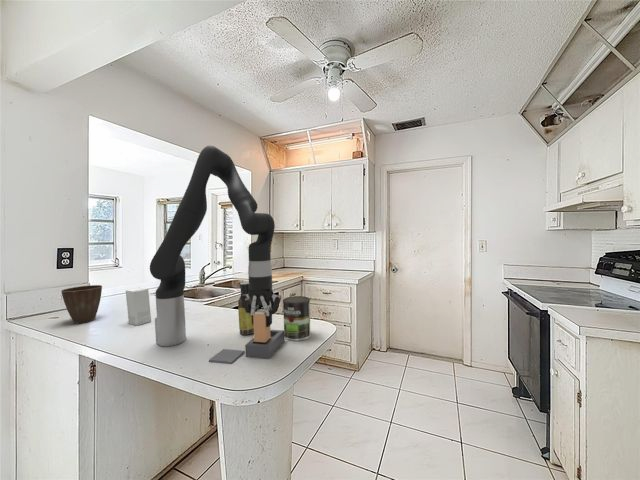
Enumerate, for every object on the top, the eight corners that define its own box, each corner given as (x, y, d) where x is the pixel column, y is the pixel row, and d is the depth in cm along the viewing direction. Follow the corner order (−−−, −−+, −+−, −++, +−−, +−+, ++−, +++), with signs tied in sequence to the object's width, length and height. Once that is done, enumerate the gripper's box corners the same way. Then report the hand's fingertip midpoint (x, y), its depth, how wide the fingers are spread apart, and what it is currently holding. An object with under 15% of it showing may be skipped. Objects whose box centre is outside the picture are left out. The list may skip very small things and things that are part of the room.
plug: (254, 341, 91) (253, 312, 91) (259, 336, 95) (258, 308, 95) (265, 342, 90) (264, 313, 90) (270, 337, 94) (269, 309, 94)
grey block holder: (245, 357, 90) (245, 344, 90) (264, 339, 104) (263, 329, 104) (268, 358, 88) (268, 346, 88) (284, 341, 102) (284, 330, 102)
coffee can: (304, 342, 100) (303, 303, 100) (279, 339, 104) (277, 301, 103) (315, 332, 110) (313, 296, 110) (291, 329, 114) (290, 295, 113)
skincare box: (151, 321, 130) (149, 288, 129) (135, 326, 124) (133, 291, 124) (142, 319, 134) (140, 287, 134) (127, 323, 129) (125, 289, 128)
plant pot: (59, 323, 132) (56, 289, 132) (97, 314, 145) (95, 283, 144) (69, 328, 124) (66, 292, 123) (109, 319, 136) (107, 286, 136)
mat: (208, 361, 88) (208, 359, 88) (223, 350, 95) (223, 349, 95) (231, 363, 86) (231, 361, 86) (244, 352, 94) (244, 350, 94)
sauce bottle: (257, 333, 111) (255, 283, 110) (242, 336, 108) (240, 285, 107) (252, 328, 116) (250, 281, 116) (237, 332, 113) (235, 283, 112)
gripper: (284, 272, 94) (286, 323, 94) (246, 272, 97) (247, 321, 98) (276, 276, 86) (277, 331, 87) (234, 275, 90) (236, 328, 90)
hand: (261, 325), depth 92 cm, fingers closed on plug, 4 cm apart
